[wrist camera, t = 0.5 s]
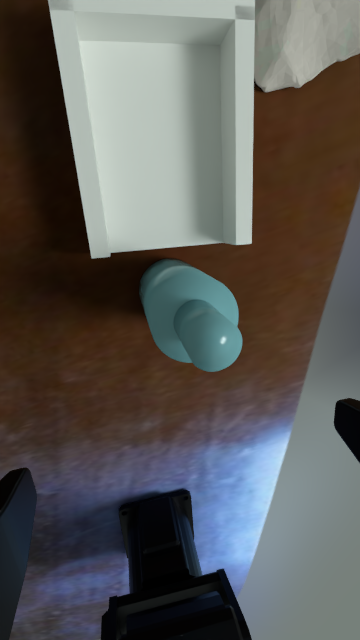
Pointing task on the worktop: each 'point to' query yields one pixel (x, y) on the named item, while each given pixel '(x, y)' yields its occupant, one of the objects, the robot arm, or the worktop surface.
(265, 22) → the decorative stone
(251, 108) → the u rest
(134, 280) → the worktop surface
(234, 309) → the bottle
